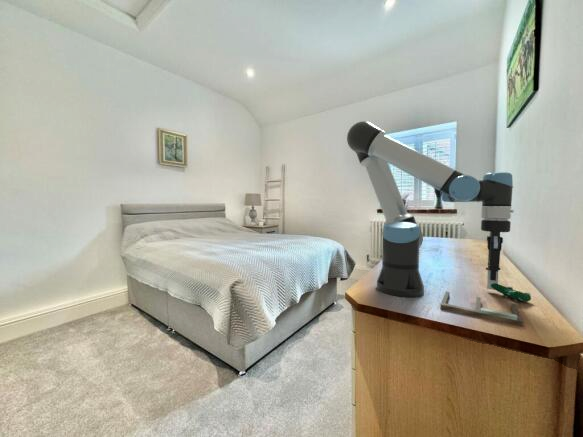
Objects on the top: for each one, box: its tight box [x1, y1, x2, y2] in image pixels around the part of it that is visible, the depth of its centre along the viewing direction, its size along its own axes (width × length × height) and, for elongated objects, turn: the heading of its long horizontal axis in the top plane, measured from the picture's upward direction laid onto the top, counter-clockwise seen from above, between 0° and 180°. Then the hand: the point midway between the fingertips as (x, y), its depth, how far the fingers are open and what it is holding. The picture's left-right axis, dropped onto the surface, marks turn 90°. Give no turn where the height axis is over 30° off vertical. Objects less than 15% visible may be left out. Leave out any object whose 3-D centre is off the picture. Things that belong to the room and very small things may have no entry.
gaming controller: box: [491, 283, 532, 303], centre depth 77 cm, size 9×4×6 cm
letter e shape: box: [440, 291, 524, 327], centre depth 69 cm, size 17×14×2 cm
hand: (492, 288), depth 83 cm, fingers closed
